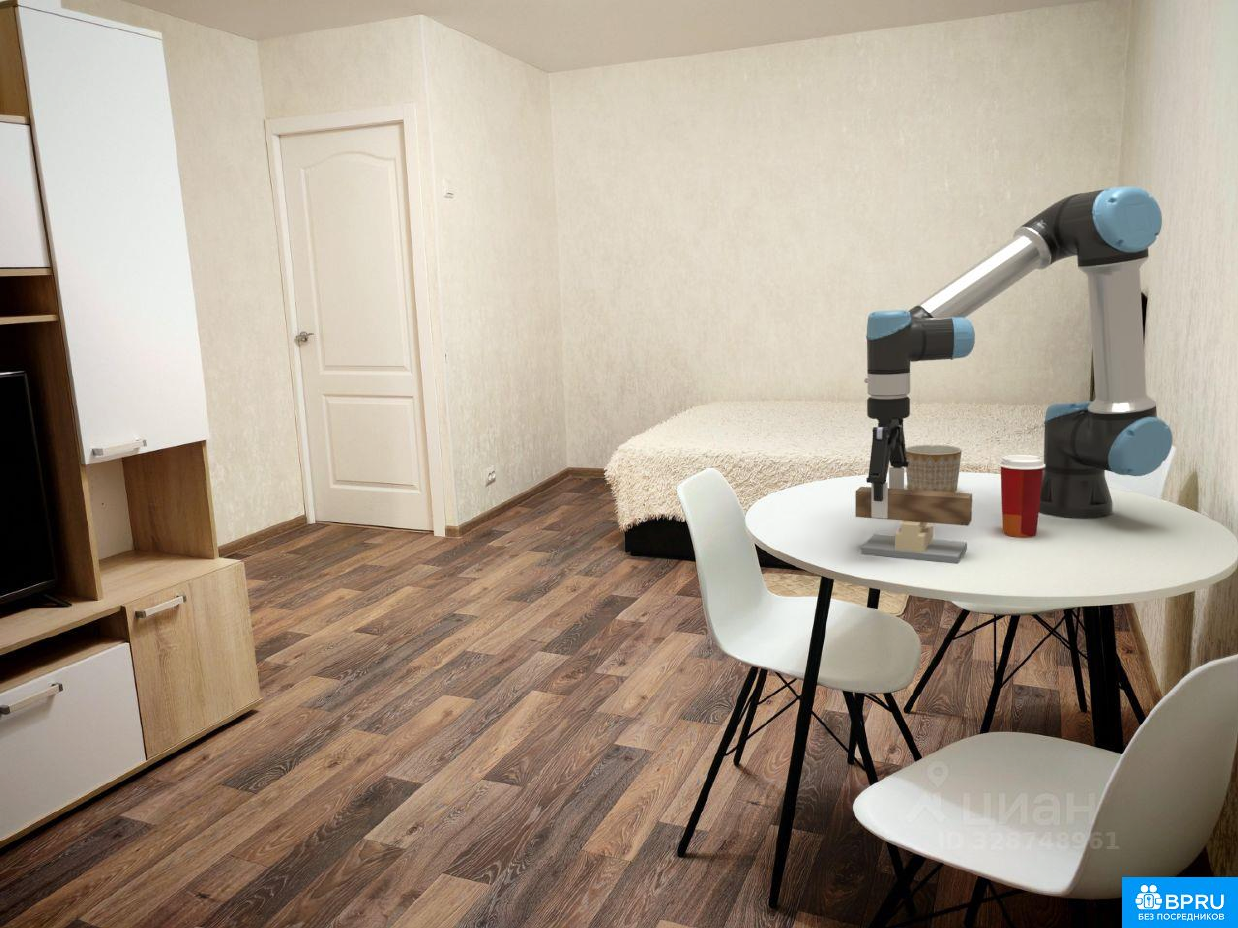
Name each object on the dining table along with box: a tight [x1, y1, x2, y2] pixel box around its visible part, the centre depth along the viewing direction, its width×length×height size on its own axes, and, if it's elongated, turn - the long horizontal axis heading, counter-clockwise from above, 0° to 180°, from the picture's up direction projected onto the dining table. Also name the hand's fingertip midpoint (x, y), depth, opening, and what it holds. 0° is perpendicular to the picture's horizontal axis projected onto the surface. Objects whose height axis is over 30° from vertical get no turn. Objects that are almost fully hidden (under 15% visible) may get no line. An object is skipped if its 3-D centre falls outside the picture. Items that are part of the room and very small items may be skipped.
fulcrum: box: [860, 521, 968, 564], centre depth 167 cm, size 17×10×6 cm, turn 61°
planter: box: [905, 444, 963, 493], centre depth 212 cm, size 13×13×10 cm
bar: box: [854, 486, 973, 527], centre depth 166 cm, size 20×4×5 cm, turn 61°
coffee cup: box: [997, 454, 1045, 538], centre depth 174 cm, size 8×8×15 cm
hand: (888, 509), depth 168 cm, fingers open, 13 cm apart
